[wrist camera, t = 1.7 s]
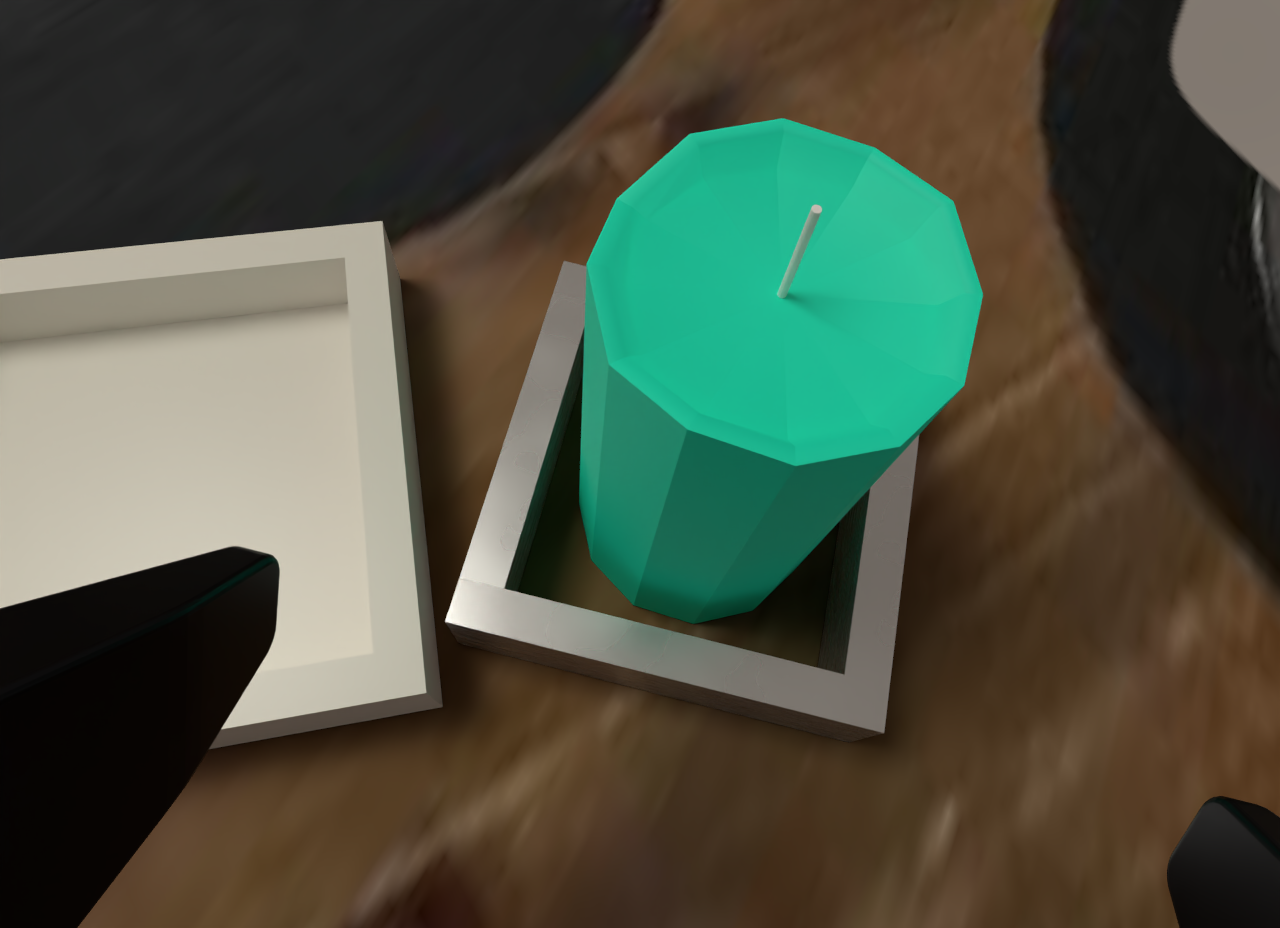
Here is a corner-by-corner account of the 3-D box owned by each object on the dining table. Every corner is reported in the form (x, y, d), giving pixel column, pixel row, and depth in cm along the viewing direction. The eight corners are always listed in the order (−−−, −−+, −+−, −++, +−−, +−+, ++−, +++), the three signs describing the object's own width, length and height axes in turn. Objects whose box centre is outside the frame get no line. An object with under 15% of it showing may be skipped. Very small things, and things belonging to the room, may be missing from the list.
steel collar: (848, 742, 20) (884, 732, 18) (458, 643, 21) (444, 621, 18) (894, 395, 24) (929, 350, 22) (564, 313, 24) (564, 260, 22)
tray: (442, 707, 20) (426, 693, 18) (-126, 809, 18) (-226, 808, 16) (400, 277, 24) (382, 220, 22) (-63, 328, 23) (-135, 273, 20)
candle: (733, 374, 24) (874, -6, 13) (850, 558, 22) (1132, 301, 11) (539, 462, 22) (511, 119, 11) (647, 667, 21) (738, 496, 10)
